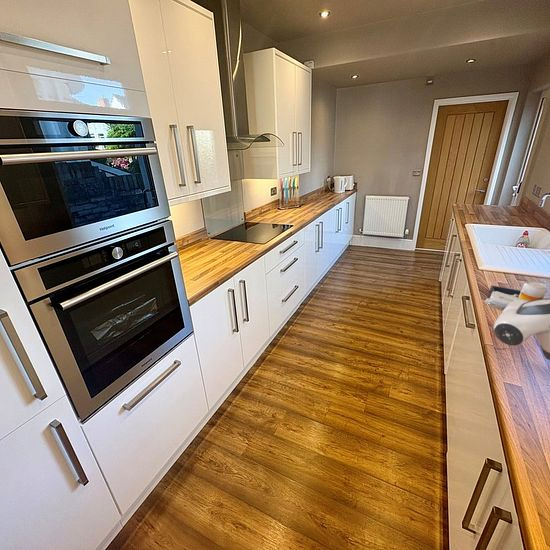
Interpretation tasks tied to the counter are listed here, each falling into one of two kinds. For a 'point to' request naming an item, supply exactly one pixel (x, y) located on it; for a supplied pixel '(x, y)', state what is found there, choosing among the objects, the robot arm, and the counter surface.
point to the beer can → (532, 291)
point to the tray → (504, 290)
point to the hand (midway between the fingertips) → (529, 300)
